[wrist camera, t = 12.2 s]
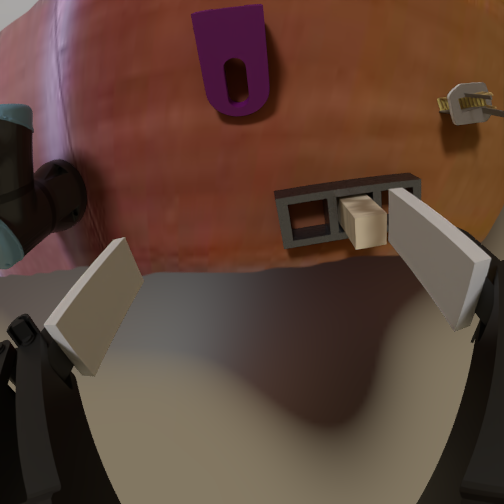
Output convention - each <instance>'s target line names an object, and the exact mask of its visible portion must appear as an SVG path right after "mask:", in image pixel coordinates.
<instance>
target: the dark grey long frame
mask: <svg viewBox="0 0 504 504" xmlns="http://www.w3.org/2000/svg"><path fill="white" fill-rule="evenodd" d="M394 188H404V189H405V190H407V191H408V192H409V193H411V194H412V195H414V196H415V197H417V198H418V199H419V200H421V179H420V178H418V177H416V176H414V175H413V174H411V173H402V174H392V175H383V176H374V177H366V178H358V179H350V180H343V181H335V182H328V183H322V184H315V185H308V186H302V187H296V188H290V189H284V190H278V191H274V195H275V201H276V206H277V211H278V217H279V223H280V228H281V234H282V240H283V245H284V249H288V248H293V247H299V246H305V245H311V244H317V243H323V242H329V241H335V240H341V239H347V238H349V237H348V236H347V234H346V233H345V231H344V229H343V228H342V226H341V225H340V223H339V222H338V211H337V200H336V197H340V196H347V195H354V194H361V193H365V194H367V195H368V196H369V197H370V198H371V199H372V200H373V201H374V202H375V203H376V204H377V205H379V206H380V207H381V191H384V190H388V189H394ZM321 199H323V207H324V217H325V224H322V225H316V226H310V227H304V228H298V229H291V223H290V217H289V211H288V205H290V204H296V203H302V202H308V201H314V200H321ZM388 231H389V214H387V232H388Z"/></svg>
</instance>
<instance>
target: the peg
mask: <svg viewBox="0 0 504 504" xmlns="http://www.w3.org/2000/svg"><path fill="white" fill-rule="evenodd" d="M336 200H337V211H338V222H339V223H340V225H341V226H342V228H343V229H344V231H345V233H346V234H347V236H348V237H349V239H350V241H351V242H352V244H353V246H354V247H355V249H356V250H357V249H363V248H369V247H374V246H380V245H385V244H386V241H387V213H386V212H385V211H384V210H383V209H382V208H381V207H380V206H379V205H377V204H376V203H375V202H374V201H373V200H372V199H371V198H370V197H369V196H368V195H367V194H365V193H361V194H354V195H347V196H340V197H336Z"/></svg>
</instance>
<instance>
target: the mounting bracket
mask: <svg viewBox="0 0 504 504" xmlns="http://www.w3.org/2000/svg"><path fill="white" fill-rule="evenodd" d="M191 18H192V23H193V28H194V34H195V39H196V44H197V50H198V55H199V60H200V65H201V70H202V76H203V81H204V86H205V91H206V95H207V98H208V100H209V102H210V104H211V105H212V106H213V107H214V108H215V109H216V110H218V111H219V112H221V113H223V114H226V115H230V116H245V115H249V114H252V113H254V112H256V111H257V110H259V109H260V108H261V107H262V106H263V105H264V104H265V102H266V100H267V99H268V96H269V90H270V87H269V73H268V60H267V47H266V35H265V24H264V13H263V5H262V4H255V5H244V6H239V7H230V8H222V9H215V10H213V9H211V10H205V11H199V12H195V13H193V14H191ZM231 58H239V59H241V60H242V61H243V62H244V63H245V65H246V73H247V81H248V90H249V97H248V98H247V99H246V100H245V101H243V102H234V101H233V100H231V99H230V97H229V93H228V86H227V80H226V73H225V67H224V63H225V62H226V61H227V60H228V59H231Z"/></svg>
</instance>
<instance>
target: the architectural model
mask: <svg viewBox="0 0 504 504" xmlns="http://www.w3.org/2000/svg"><path fill="white" fill-rule="evenodd" d="M491 95H492V96H493V94H492V93H491V92H488V90H487V87H486V85H485V83H482V82H479V83H465V84H458V85H457V86H456V87H454V88H453V89H452V90H451V91H450V92H449V94H448V95H447V97H444V98H438V99H437V101H438V104H439V108H440V110H439V112H440V113H447V114H450V115H451V118H452V122H453V123H454V124H455V125H464V124H471V123H479V122H485V121H487V120H488V119H489V117H490V116H491V115H495V116H500V117H504V111H502V110H497V109H496V106H492V103H491V100H492V97H491ZM492 107H493V108H492Z"/></svg>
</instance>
